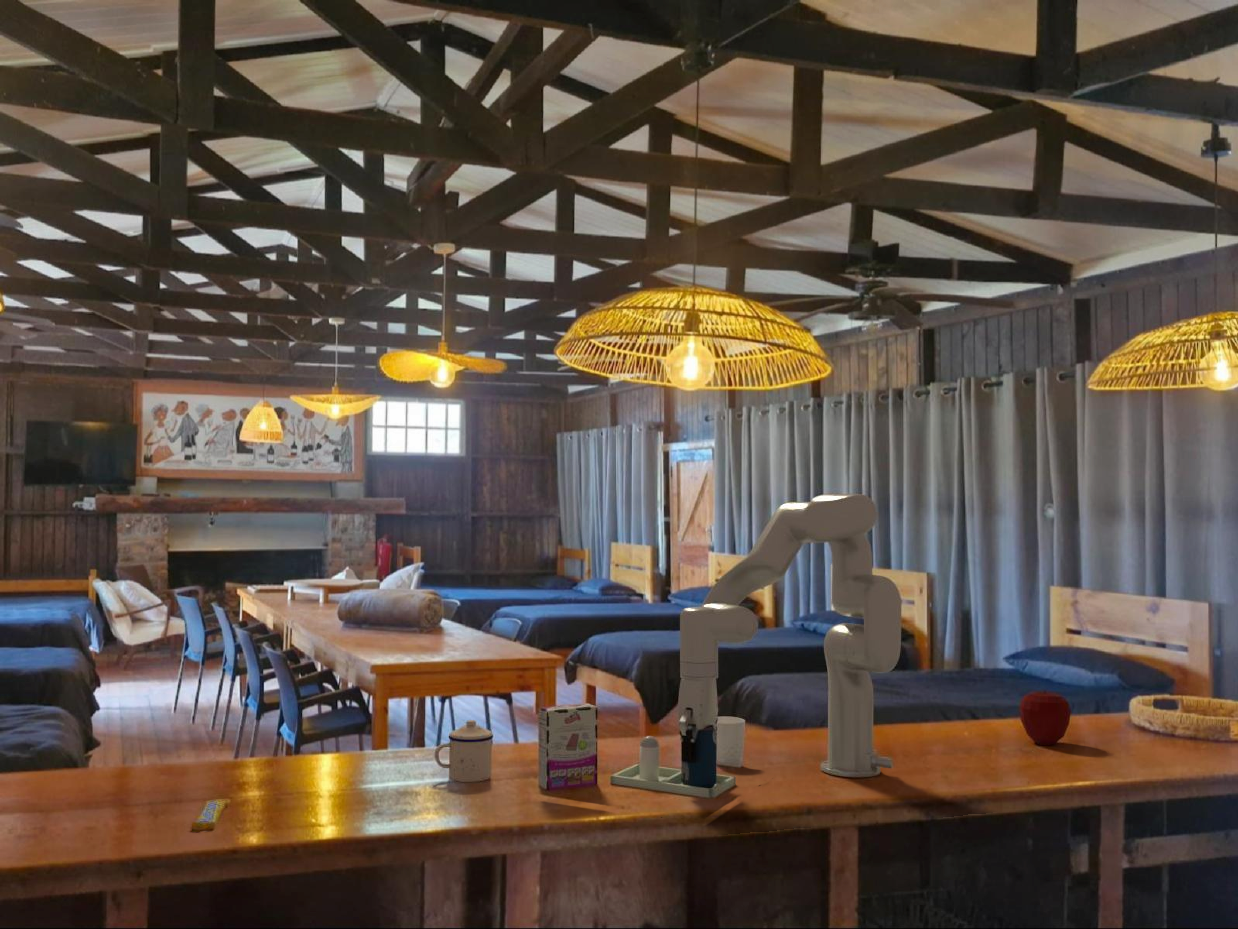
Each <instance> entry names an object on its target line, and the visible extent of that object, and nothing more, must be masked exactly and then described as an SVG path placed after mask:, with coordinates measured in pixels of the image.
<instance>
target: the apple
mask: <svg viewBox="0 0 1238 929" xmlns="http://www.w3.org/2000/svg"><path fill="white" fill-rule="evenodd" d="M1071 713H1072V709H1071V705H1070V703H1069V701H1068V700H1067V699H1066V698H1065V697H1064V696H1063V695H1061V694H1057V693H1054V692H1049V691H1046V688H1044V689H1043V691H1031V692H1028V693H1027V694H1025V695H1024V696H1023V697H1022V700H1021V702H1020V704H1019V714H1020V722H1021V723H1022V726H1023V728H1024V731H1025V733H1026V735H1027V736H1028V737H1029V738H1030V739H1031V740H1032V741H1033V742H1034V743H1035V744H1036V745H1041V746H1049V745H1055V744H1056V743H1057V742H1059V741H1060V740H1061V739H1063V738H1064V737H1065V734H1066V732H1067V729H1068V728H1069V724H1070V720H1071Z"/></svg>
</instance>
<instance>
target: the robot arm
mask: <svg viewBox="0 0 1238 929" xmlns="http://www.w3.org/2000/svg"><path fill="white" fill-rule="evenodd" d="M878 515H879V514H878V507H877V505H876V504H875V502H874V500H872V499H871V498H870V497H869V496H868V495H865V494H862V493H825V494H820V495H817V496H814V497H813V498H812V499H811V500H810V501H791V502H790V501H789V502H785V503H783V504H781V505H780V506H778V508H776V510H775V512H774V513H773V515H772V517H770V520H769V521H768V523H767V524H766V526H765V528H764V529H763V530H762V532H761V534H760V535H759V537H758V539H756V540H757V541H756V542H755V543H754V544H753V545H754V546H752V549H751V550H750V551H749V553H748V554H747V555H746V556H745V557H744V558H743V559H741V561H739V562H738V563H736V564H735V565H734V566H733V567H732V568H730V569H729V570H728V571H726V572H725V573H724V574H723V575H722V576H721V577H720V578H719V579H718V580H717V581H716V582H715V584H713V585H712V587H711V588H710V590H709V592H708V594H707V595H706V596H705V598H704V600H703V601H702V604H701V606H692V607H691V606H690V607H685V608H683V609H682V610H681V612H680V616H679V629H680V630H679V639H680V640H679V643H680V644H679V645H680V646H679V649H680V650H679V652H680V653H679V656H680V657H679V664H680V665H679V666H680V668H679V673H680V676H679V677H680V678H681V679H680V684H679V690H678V701H677V702H678V704H677V727H678V728H679V736H680V742H681V745H680V746H681V748H680V749H681V750H680V752H681V756H680V758H681V760H682V762H689V763H697V761H698V747H697V742H695V741H696V737H697V734H698V731H700V730H702V729H705V728H707V727H709V726H711V725H713V726H714V728H713V729H714V731H715V733H716V735H717V725H716V724H717V720H718V719H717V717H718V714H719V707H718V691H717V690H718V689H717V686H718V685H717V679H718V678H719V644H720V643H729V644H736V645H737V644H744V643H748V642H749V641H750V640H752V639H753V638H754V637H755V636H756V634H757V633H758V629H759V620H758V618H757V616H756V614H755V613H754V612H753V611H752V610H751V609H750V608H747V607H745V606H741V605H740V604H741V603H742V602H743V601H744V600H745V599H746V598H747V597H748V596H750V595H751V594H752V593H755V592H756V591H759V590H760V589H761V590H762V589H764V588H766V587H768V586H771V585H773V584H775V583H777V582H779V581H780V580H782V579H783V578H784V577H785V575H786V573H787V571H788V570H789V569H790V567H791V564H792V563H793V562H794V560H795V558H796V556H797V554H799V551H800V550H801V548H802V546H803V545H804V544H805V543H808V544H809V543H811V544H822V543H828V545H829V548H830V551H831V563H832V565H831V604H832V607H833V609H834V611H836V613H838V614H839V615H841V616H844V617H848V618H854V619H855V618H856V619H862V620H863V624H860V623H859V624H858V623H852V622H851V623H850V622H842V623H838V624H835V625H833V626H832V627H831V628H829V630H827V632H826V635H825V637H824V641H823V652H824V659H825V663H826V668H827V682H828V684H827V685H828V689H827V690H828V691H827V692H828V698H827V699H828V700H827V704H828V705H827V717H828V718H827V726H828V727H827V735H828V736H827V737H828V738H827V739H828V740H827V760H823V761H821V763H820V770H821V771H822V772H824V773H826V774H829V775H833V776H837V777H844V778H868V777H869V778H871V777H875V776H879V775H880V773H881V768H883V769H893V767H894V760H893V759H891V758H890V757H888V756H887V757H886V756H880V755H878V751H877V749H874V684H873V681H872V677H871V676H870V673H874V674H885V673H889V672H891V671H892V670H893V669H894V668H895V667H896V665H897V664H898V662H899V659H900V655H901V649H902V648H901V646H902V644H901V643H902V597H901V594H900V591H899V588H898V586H897V585H896V583H895V582H893V580H892V579H890V578H888V577H887V576H884V575H877V574H873V556H872V548H871V547H872V546H871V544H870V541H869V539H868V536H867V533H869V531H871V530H872V529H873V528H874V527H875V525H876V523H877V520H878ZM690 731H693V733H692V734H691V732H690ZM681 760H680V761H681Z"/></svg>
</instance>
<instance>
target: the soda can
mask: <svg viewBox="0 0 1238 929" xmlns="http://www.w3.org/2000/svg"><path fill="white" fill-rule="evenodd" d="M713 728H714V726H713V725H711V726H709V727H707V728H705V729H702V730H700V731H698V734H697V737H696V741H695V742H697V747H698V761H697V763H689V762H682V760H680V761H681V763H680V764H681V767H680V768H681V781H682V783H683V785H687V786H694V787H701V788H709V789H711V788H712V787H714V785H715V783H716V774H717V766H718V765H717V735H716V733H715V731H714V729H713ZM690 732H691V734H692V733H693V731H690Z"/></svg>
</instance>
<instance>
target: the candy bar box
mask: <svg viewBox="0 0 1238 929" xmlns="http://www.w3.org/2000/svg"><path fill="white" fill-rule="evenodd" d="M537 774H538V786H539V787H540V788H543V789H544V790H546V791H552V790H553V791H554V790H555V791H556V790H563V789H564V790H565V789H572V788H580V787H589V786H596V785H597V786H598V706H597V705H593V704H592V703H589V702H587V703H586V702H585V703H574V704H564V705H563V704H562V705H553V706H544V707H543V706H542V707H538V773H537Z"/></svg>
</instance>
